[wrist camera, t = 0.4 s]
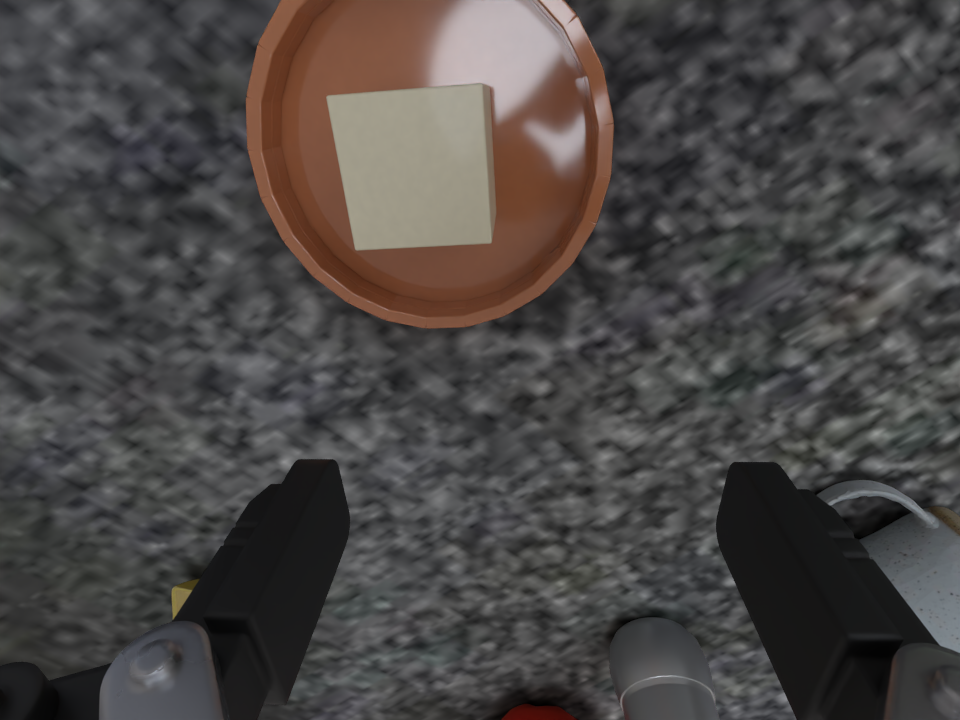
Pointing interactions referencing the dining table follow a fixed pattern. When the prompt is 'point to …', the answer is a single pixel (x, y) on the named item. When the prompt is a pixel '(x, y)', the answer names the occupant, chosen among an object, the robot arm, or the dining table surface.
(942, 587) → the ceramic mug
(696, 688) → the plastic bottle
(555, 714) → the tomato
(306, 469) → the robot arm
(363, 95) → the block
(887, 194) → the dining table surface
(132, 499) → the dining table surface
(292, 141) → the terracotta dish
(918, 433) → the dining table surface
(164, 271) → the dining table surface
